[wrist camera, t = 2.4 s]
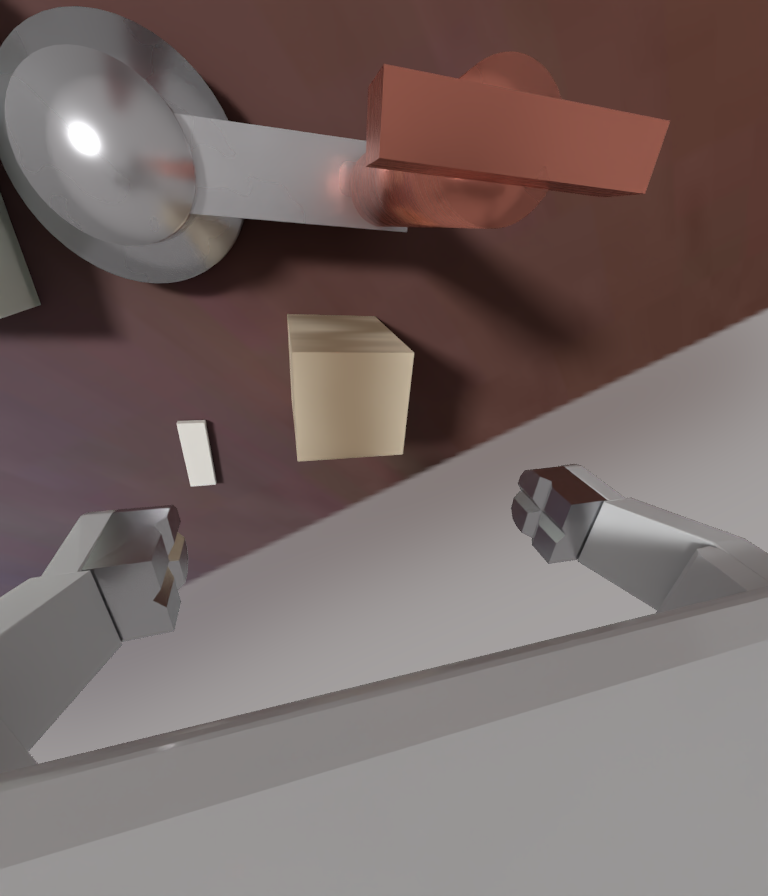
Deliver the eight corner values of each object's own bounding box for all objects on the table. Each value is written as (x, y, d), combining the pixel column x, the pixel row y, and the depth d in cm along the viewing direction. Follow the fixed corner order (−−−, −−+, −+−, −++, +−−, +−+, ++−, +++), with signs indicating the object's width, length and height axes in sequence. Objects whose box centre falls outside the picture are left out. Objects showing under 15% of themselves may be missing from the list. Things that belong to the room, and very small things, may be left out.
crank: (68, 238, 12) (-392, 270, 4) (13, 53, 10) (-1349, -836, 2) (422, 262, 15) (605, 307, 7) (437, 123, 13) (733, -61, 5)
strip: (205, 419, 18) (204, 422, 18) (216, 481, 20) (215, 484, 20) (177, 421, 18) (176, 423, 17) (191, 483, 20) (190, 486, 19)
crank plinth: (234, 51, 12) (231, 35, 11) (255, 283, 16) (254, 287, 15) (-32, 0, 10) (-65, -24, 9) (58, 274, 14) (41, 278, 13)
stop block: (374, 316, 18) (414, 352, 13) (370, 395, 20) (402, 454, 15) (287, 313, 17) (292, 352, 12) (291, 397, 19) (297, 461, 14)
